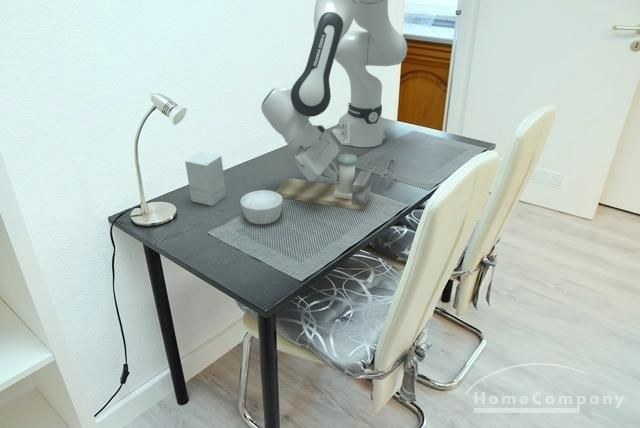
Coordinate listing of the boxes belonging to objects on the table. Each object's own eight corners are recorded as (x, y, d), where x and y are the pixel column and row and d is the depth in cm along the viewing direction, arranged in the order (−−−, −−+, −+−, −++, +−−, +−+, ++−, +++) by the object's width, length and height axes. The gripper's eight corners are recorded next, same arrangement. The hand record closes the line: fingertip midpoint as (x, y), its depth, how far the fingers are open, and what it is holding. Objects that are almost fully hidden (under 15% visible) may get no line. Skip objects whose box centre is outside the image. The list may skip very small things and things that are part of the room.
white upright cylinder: (333, 196, 128) (334, 159, 123) (338, 187, 133) (340, 151, 127) (353, 200, 127) (355, 162, 121) (358, 190, 132) (360, 154, 126)
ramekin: (238, 210, 125) (236, 193, 122) (276, 203, 129) (275, 187, 126) (247, 230, 116) (245, 212, 113) (288, 222, 120) (288, 205, 117)
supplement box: (226, 195, 132) (222, 155, 126) (211, 206, 127) (206, 165, 120) (206, 190, 135) (201, 151, 129) (190, 201, 129) (184, 160, 123)
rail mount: (275, 196, 132) (274, 173, 128) (288, 182, 140) (287, 159, 137) (362, 210, 125) (363, 186, 121) (370, 194, 133) (371, 171, 130)
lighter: (384, 190, 136) (386, 166, 132) (379, 189, 137) (381, 164, 133) (395, 182, 141) (397, 158, 137) (390, 180, 142) (392, 157, 138)
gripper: (299, 147, 116) (334, 188, 118) (324, 123, 133) (354, 159, 135) (283, 161, 119) (317, 200, 122) (310, 135, 136) (339, 170, 138)
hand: (337, 178), depth 129 cm, fingers closed, pressing on white upright cylinder
